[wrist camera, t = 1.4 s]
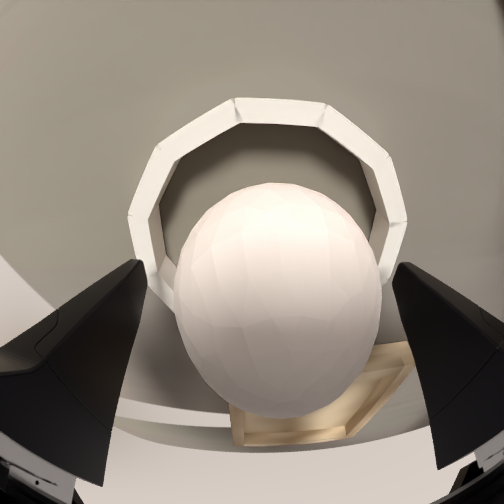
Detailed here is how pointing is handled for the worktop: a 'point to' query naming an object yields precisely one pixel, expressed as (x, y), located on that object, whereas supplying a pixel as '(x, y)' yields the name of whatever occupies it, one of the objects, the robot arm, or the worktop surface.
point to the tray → (332, 405)
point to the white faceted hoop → (272, 112)
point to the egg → (277, 299)
